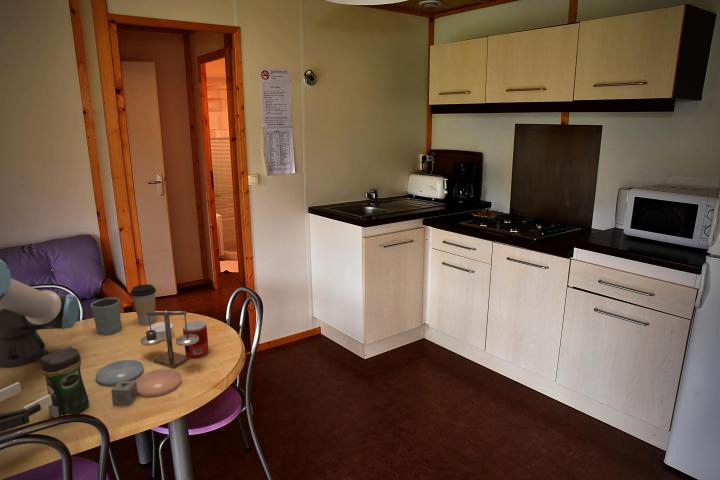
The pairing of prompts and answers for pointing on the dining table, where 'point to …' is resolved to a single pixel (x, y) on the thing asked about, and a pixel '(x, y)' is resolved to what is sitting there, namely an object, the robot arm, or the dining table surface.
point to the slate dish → (119, 372)
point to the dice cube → (124, 393)
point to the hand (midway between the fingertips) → (35, 392)
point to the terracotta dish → (158, 382)
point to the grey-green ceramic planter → (107, 315)
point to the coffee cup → (144, 302)
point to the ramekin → (161, 329)
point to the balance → (169, 341)
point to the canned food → (202, 345)
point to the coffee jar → (64, 382)
